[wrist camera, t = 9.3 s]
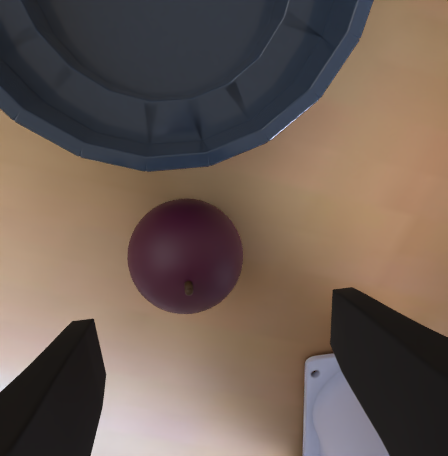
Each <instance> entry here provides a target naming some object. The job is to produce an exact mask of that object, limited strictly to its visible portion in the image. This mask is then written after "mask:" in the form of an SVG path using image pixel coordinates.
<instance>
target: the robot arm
mask: <svg viewBox="0 0 448 456" xmlns="http://www.w3.org/2000/svg"><path fill="white" fill-rule="evenodd" d="M330 345H331V347H332V350H333V352H334V353H332V354H324V355H317V356H312V357H310V358H308V359H307V360H306V362H305V381H304V420H303V456H448V337H446V336H443V335H441V334H439V333H437V332H435V331H433V330H431V329H429V328H427V327H425V326H423V325H421V324H419V323H417V322H415V321H413V320H411V319H409V318H408V317H406V316H404V315H402V314H400V313H398V312H396V311H395V310H393V309H391V308H389V307H388V306H386V305H384V304H382V303H380V302H379V301H377V300H375V299H373V298H372V297H370V296H368V295H366V294H364V293H362V292H361V291H359V290H357V289H354V288H352V287H351V288H342V289H334V290H333V296H332V317H331V338H330ZM315 370H317V371H316V372H314V373H312V372H313V371H315ZM105 380H106V372H105V367H104V363H103V358H102V354H101V349H100V345H99V340H98V336H97V331H96V327H95V322H94V319H87V320H79V321H72V322H71V323H70V324H69V325H68V326H67V327H66V328H65V329H64V330H63V331H62V332H61V333H60V334H59V335H58V336H57V337H56V338H55V340H54V341H53V342H52V343H51V344H50V345H49V346H48V347H47V348H46V349H45V350H44V351H43V352H42V353H41V354H40V355H39V356H38V357H37V358H36V359H35V360H34V361H33V362H32V363H31V364H30V365H29V366H28V367H27V368H26V369H25V370H24V371H23V372H22V373H21V374H20V375H18V376H17V377H16V378H15V379H14V380H13V381H12V382H11V383H10V384H9V385H8V386H7V387H5V388H4V389H3V390H2V391H1V392H0V456H90V455H91V451H92V447H93V443H94V439H95V435H96V431H97V427H98V423H99V419H100V415H101V411H102V406H103V398H104V389H105Z"/></svg>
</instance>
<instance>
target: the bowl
mask: <svg viewBox="0 0 448 456" xmlns="http://www.w3.org/2000/svg"><path fill="white" fill-rule="evenodd" d="M372 3H373V0H0V109H1V110H2V111H3V112H4V113H6V114H7V115H8V116H9V117H10V118H11V119H12V120H15V122H16V123H18V124H20V125H21V126H23V127H25V128H27V129H29V130H31V131H32V132H34V133H36V134H38V135H40V136H42V137H43V138H45V139H47V140H49V141H51V142H53V143H54V144H56V145H58V146H60V147H62V148H63V149H65V150H67V151H69V152H71V153H73V154H74V155H76V156H80V157H81V158H85V159H89V160H94V161H99V162H103V163H108V164H112V165H117V166H121V167H126V168H130V169H135V170H140V171H147V172H151V171H163V170H175V169H186V168H198V167H208V166H209V165H210V166H212V165H215V164H217V163H220V162H222V161H224V160H227V159H229V158H232V157H234V156H236V155H239V154H241V153H244V152H246V151H248V150H251V149H253V148H256V147H258V146H260V145H263V144H265V143H267V142H268V141H270V140H272V139H273V138H274V137H275V136H276V135H278V134H279V133H280V132H281V131H282V130H284V129H285V128H286V127H287V126H288V125H290V124H291V123H292V122H293V121H294V120H296V119H297V118H298V117H299V116H300V115H302V114H303V113H304V112H305V111H306V110H308V109H309V108H310V107H311V106H312V105H314V104H315V103H316V102H317V101H318V100H319V99H320V98H321V97H322V95H323V94H324V92H325V91H326V89H327V88H328V86H329V85H330V83H331V82H332V80H333V79H334V77H335V76H336V74H337V73H338V71H339V70H340V68H341V67H342V65H343V64H344V62H345V61H346V60H347V58H348V57H349V55H350V54H351V52H352V51H353V49H354V48H355V46H356V45H357V43H358V42H359V38H361V35H362V32H363V30H364V27H365V24H366V21H367V18H368V15H369V12H370V9H371V6H372Z"/></svg>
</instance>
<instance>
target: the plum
mask: <svg viewBox="0 0 448 456" xmlns="http://www.w3.org/2000/svg"><path fill="white" fill-rule="evenodd" d="M127 259H128V267H129V271H130V275H131V278H132V280H133V282H134V284H135V286H136V287H137V289H138V291H139V292H140V293H141V294H142V296H144V297H145V298H146V299H147V300H148V301H149V302H150V303H152V304H153V305H155V306H156V307H158V308H160V309H162V310H165V311H168V312H172V313H178V314H192V313H198V312H201V311H205V310H207V309H210V308H212V307H213V306H215V305H217V304H218V303H220V302H221V301H222V300H223V299H224V298H225V297H227V295H228V294H229V293H230V292H231V291H232V289H233V288H234V286H235V285H236V283H237V281H238V278H239V276H240V273H241V270H242V264H243V248H242V243H241V239H240V236H239V234H238V231H237V229H236V228H235V226H234V224H233V223H232V221H231V220H230V219H229V218H228V217H227V216H226V215H225V214H224V213H223V212H222V211H221V210H219V209H218V208H216V207H215V206H213V205H211V204H209V203H206V202H204V201H200V200H196V199H176V200H171V201H168V202H165V203H163V204H160V205H158V206H157V207H155V208H153V209H152V210H151V211H149V212H148V213H147V214H146V215H145V216H144V217H143V218H142V219H141V220H140V222H139V223H138V224H137V226H136V227H135V229H134V231H133V233H132V236H131V239H130V241H129V246H128V257H127Z"/></svg>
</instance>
